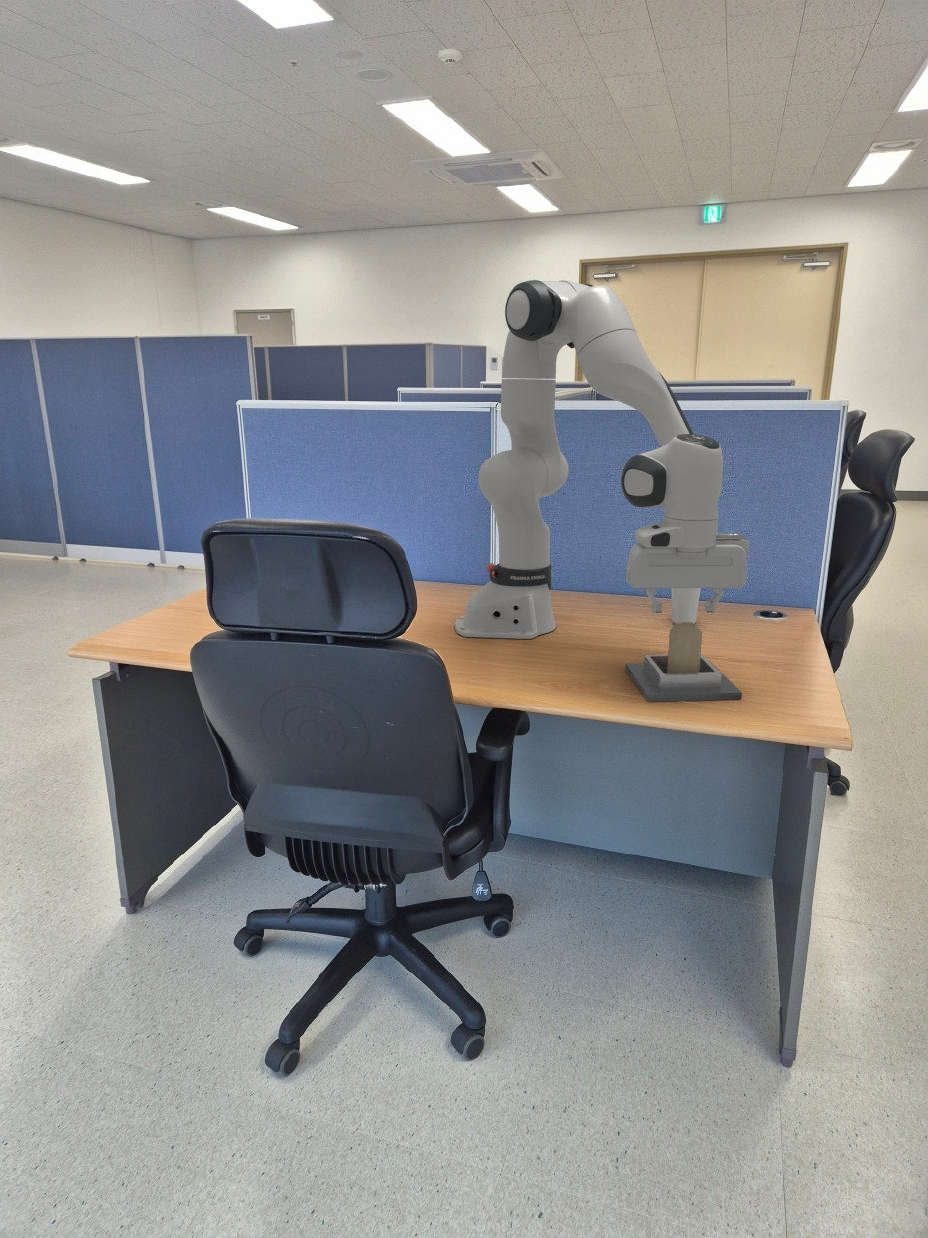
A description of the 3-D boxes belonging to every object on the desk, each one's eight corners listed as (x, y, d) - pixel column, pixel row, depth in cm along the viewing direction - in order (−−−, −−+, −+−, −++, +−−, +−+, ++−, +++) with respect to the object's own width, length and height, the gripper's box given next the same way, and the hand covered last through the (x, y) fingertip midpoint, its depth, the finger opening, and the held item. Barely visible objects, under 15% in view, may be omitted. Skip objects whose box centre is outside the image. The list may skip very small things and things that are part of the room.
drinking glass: (696, 618, 179) (700, 554, 174) (702, 627, 172) (706, 560, 168) (666, 618, 179) (669, 554, 175) (670, 627, 173) (674, 560, 169)
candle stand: (647, 702, 132) (648, 681, 131) (625, 669, 147) (626, 650, 146) (741, 699, 132) (743, 678, 131) (709, 667, 148) (711, 648, 147)
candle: (693, 685, 136) (697, 630, 133) (662, 679, 139) (665, 625, 136) (702, 675, 140) (706, 622, 137) (672, 670, 143) (675, 617, 140)
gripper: (743, 529, 136) (735, 606, 140) (626, 530, 135) (621, 607, 139) (757, 536, 130) (748, 616, 134) (635, 537, 129) (629, 617, 133)
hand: (682, 611), depth 136 cm, fingers open, 8 cm apart
